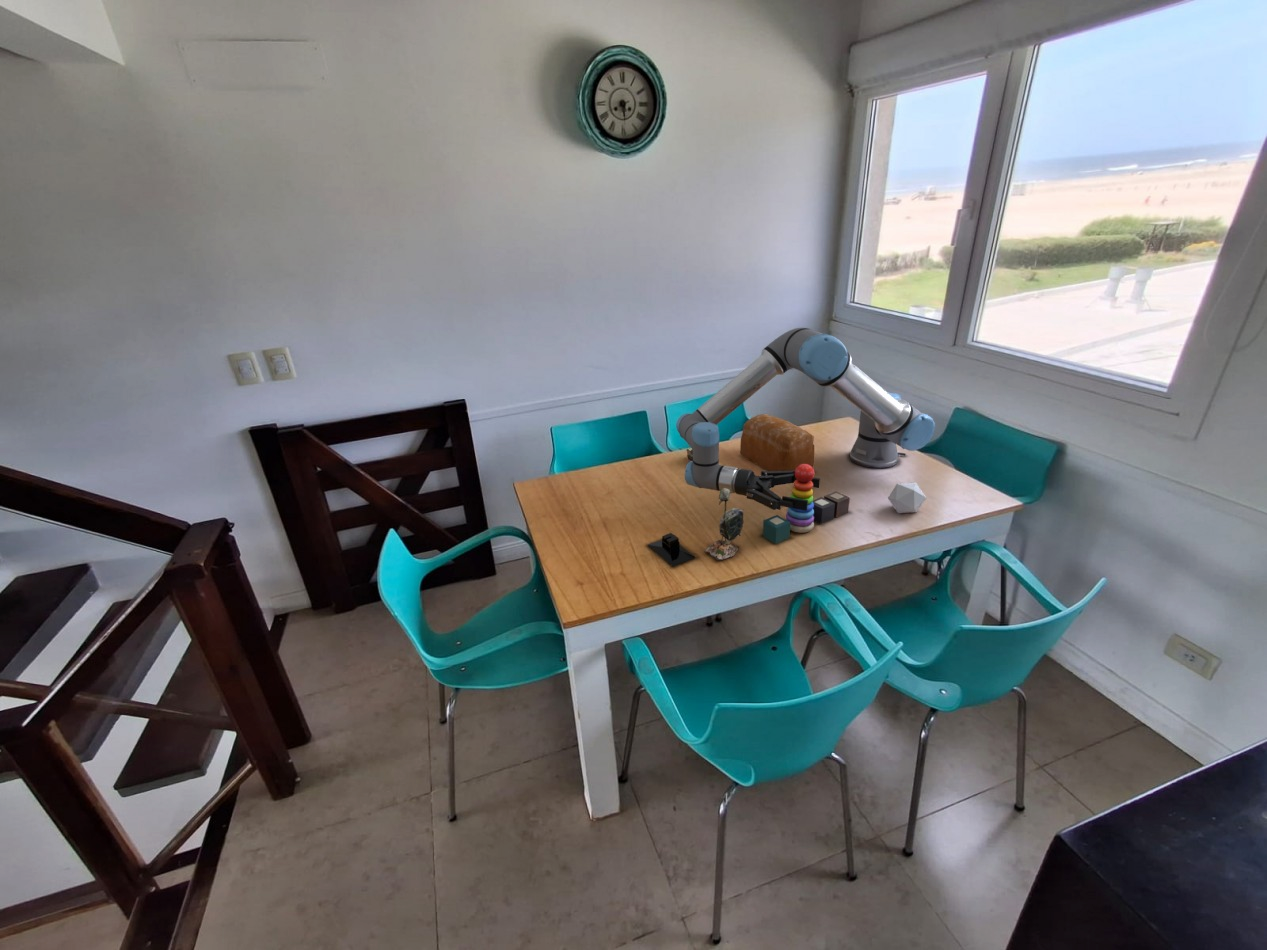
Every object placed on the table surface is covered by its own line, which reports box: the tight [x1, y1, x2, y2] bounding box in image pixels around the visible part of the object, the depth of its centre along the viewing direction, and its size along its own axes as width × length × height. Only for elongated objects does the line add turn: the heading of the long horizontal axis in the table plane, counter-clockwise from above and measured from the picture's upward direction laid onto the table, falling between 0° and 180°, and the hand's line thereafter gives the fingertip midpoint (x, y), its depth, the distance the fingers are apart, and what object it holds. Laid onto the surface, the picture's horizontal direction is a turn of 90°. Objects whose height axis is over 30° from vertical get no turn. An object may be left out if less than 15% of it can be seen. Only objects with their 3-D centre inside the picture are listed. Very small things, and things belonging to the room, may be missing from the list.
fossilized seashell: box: [686, 448, 693, 462], centre depth 198 cm, size 8×7×10 cm
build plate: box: [647, 532, 696, 568], centre depth 147 cm, size 12×7×5 cm, turn 30°
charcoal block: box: [812, 496, 835, 525], centre depth 157 cm, size 5×5×5 cm
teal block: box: [762, 514, 791, 545], centre depth 150 cm, size 5×5×5 cm
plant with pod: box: [704, 488, 745, 561], centre depth 143 cm, size 8×11×20 cm
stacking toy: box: [785, 464, 815, 534], centre depth 151 cm, size 8×8×19 cm
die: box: [887, 482, 927, 514], centre depth 158 cm, size 8×9×10 cm
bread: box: [739, 413, 815, 471], centre depth 190 cm, size 14×26×16 cm, turn 26°
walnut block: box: [823, 490, 851, 518], centre depth 160 cm, size 5×5×5 cm
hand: (813, 494), depth 149 cm, fingers open, 13 cm apart
